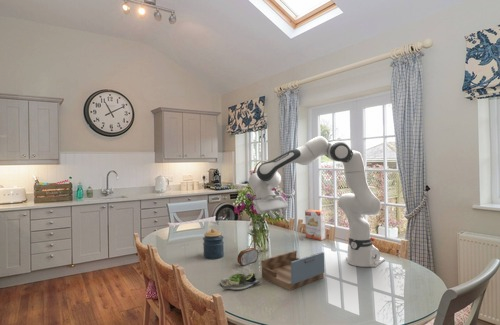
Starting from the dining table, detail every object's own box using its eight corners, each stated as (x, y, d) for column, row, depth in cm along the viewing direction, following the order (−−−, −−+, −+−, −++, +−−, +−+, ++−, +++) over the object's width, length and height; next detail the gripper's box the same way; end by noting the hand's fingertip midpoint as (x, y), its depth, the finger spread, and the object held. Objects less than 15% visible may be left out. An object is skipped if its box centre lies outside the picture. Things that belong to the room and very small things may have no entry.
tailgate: (322, 271, 157) (322, 252, 157) (325, 272, 155) (325, 252, 155) (291, 283, 144) (290, 261, 144) (294, 284, 142) (293, 262, 142)
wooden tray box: (295, 266, 174) (294, 250, 174) (323, 277, 158) (323, 259, 158) (261, 277, 159) (261, 260, 159) (289, 290, 143) (288, 270, 143)
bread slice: (255, 259, 188) (255, 246, 188) (259, 261, 186) (259, 246, 186) (237, 266, 177) (236, 251, 177) (240, 267, 175) (240, 252, 175)
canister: (206, 260, 189) (205, 231, 189) (201, 255, 201) (200, 227, 201) (227, 257, 194) (226, 229, 194) (220, 252, 206) (219, 225, 206)
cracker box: (305, 237, 237) (304, 210, 236) (310, 236, 241) (309, 208, 240) (321, 240, 226) (320, 211, 226) (325, 239, 230) (325, 210, 230)
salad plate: (234, 297, 139) (234, 286, 139) (210, 285, 152) (210, 276, 152) (264, 284, 152) (264, 274, 152) (240, 274, 165) (240, 266, 165)
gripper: (253, 195, 165) (266, 216, 158) (281, 192, 178) (294, 211, 170) (248, 203, 169) (260, 223, 161) (276, 199, 181) (289, 218, 174)
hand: (278, 217), depth 166 cm, fingers open, 3 cm apart
